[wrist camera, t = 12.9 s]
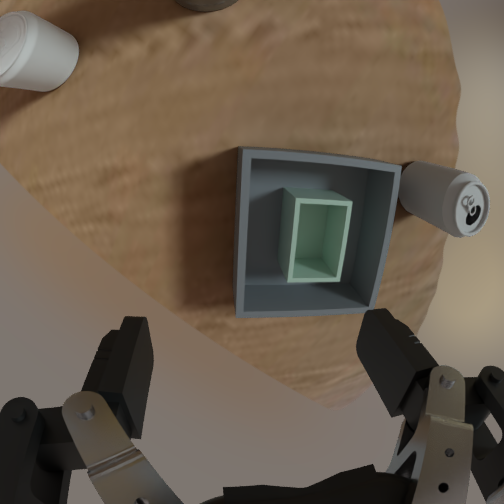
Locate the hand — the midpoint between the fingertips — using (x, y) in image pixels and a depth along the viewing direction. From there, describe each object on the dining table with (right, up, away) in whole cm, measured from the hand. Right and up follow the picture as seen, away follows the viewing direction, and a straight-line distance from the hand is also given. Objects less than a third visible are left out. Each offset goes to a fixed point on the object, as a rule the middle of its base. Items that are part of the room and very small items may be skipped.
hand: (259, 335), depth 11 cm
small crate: (+6, +6, +26) cm, 27 cm away
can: (+22, +12, +26) cm, 36 cm away
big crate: (+6, +6, +26) cm, 28 cm away
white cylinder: (-25, +26, +15) cm, 39 cm away
